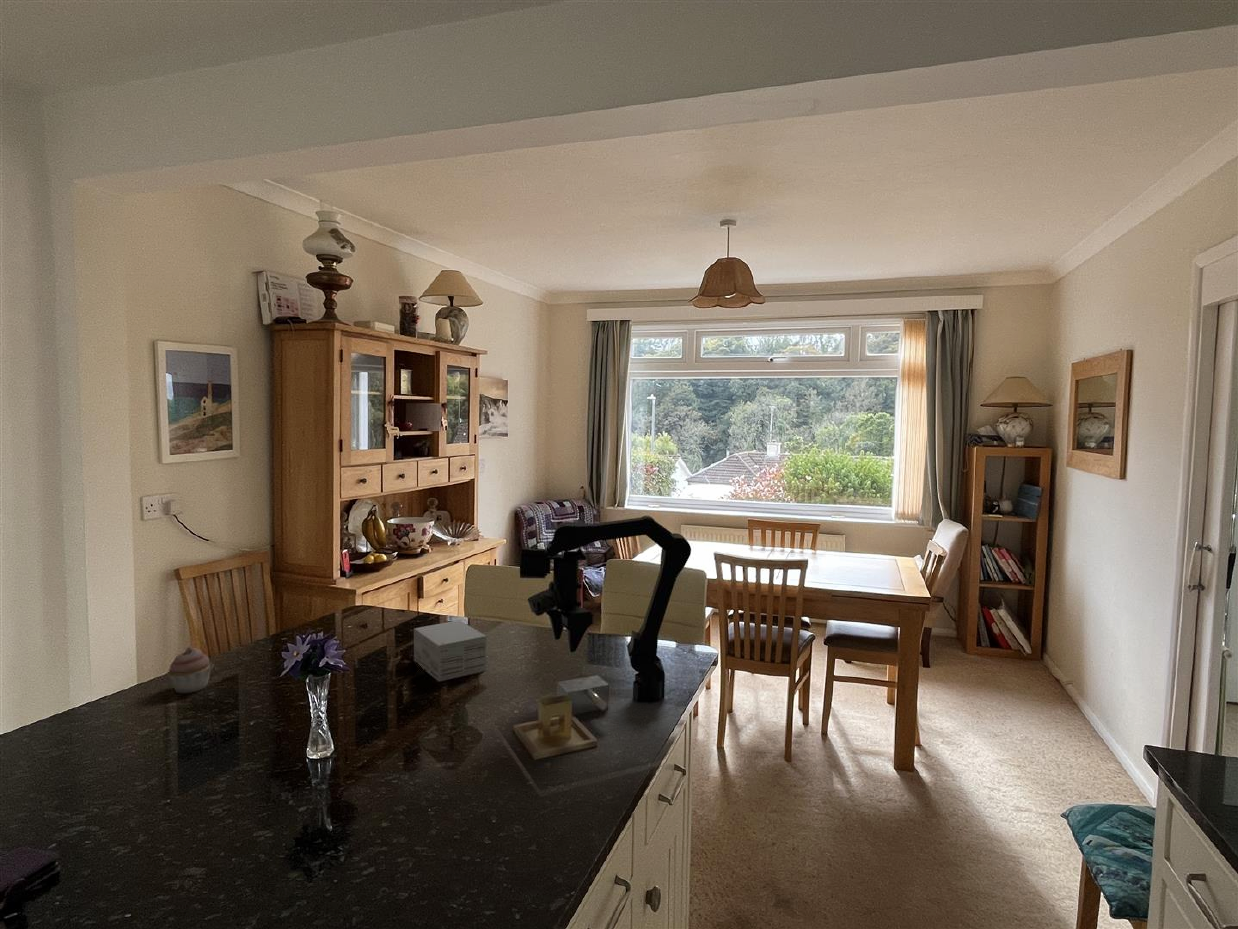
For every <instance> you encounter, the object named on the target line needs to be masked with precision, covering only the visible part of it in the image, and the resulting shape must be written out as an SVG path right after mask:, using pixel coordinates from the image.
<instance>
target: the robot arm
mask: <svg viewBox="0 0 1238 929" xmlns="http://www.w3.org/2000/svg"><path fill="white" fill-rule="evenodd" d="M639 536H640V537H641V536H646V537H648V538H649V539H650V540H652V541H653V542H654V543H655V544H656V545H657V546H658V547H660V548H661V554H660V563H659V564H660V565H659V566H660V567H659V572H658V576H657V578H656V580H655V581H656V582H655V584H654V587H653V591H652V594H651V597H650V601H649V604H648V607H647V610H646V612H645V615H644V620H643V623H642V625H641V627H640V628H639V629H638V631H637V632H636V631H635V630H631V632H630V633H631V635H630V639H629V642H628V643H627V644H626V648H627V652H628V653H627V654H628V658H629V662H630V666H631V667H632V669H633V670H634V671H636V672H637V673H635V674H634V680H633V682H632V699H633V700H635V701H636V702H637V703H648V704H653V703H658V702H660V701H661V700H662V699H665V693H666V692H665V687H666V686H665V684H666V683H665V681H666V673H665V670H664V667H663V663H662V660H661V658H660V657H659V656H658V655H657V654H658V643H659V633H660V629H661V627H662V625H663V621H664V617H665V615H666V613H667V608H668V606H669V602H670V599H671V596H672V593H673V590H674V587H675V584H676V580H677V578H678V576H679V575H680V573H681V572H682V571H683V569H684V568H685V566H686V565H687V562H688V561H689V559H690V557H691V554H692V546H691V544H690V542H689V541H688V540H687V539H686V538H685V537H684V535H682V534H680V533H676V532H675V533H674V532H671V531H669V529H667V527H666V528H665V527H664V526H663V525H661V524H660V523H659V522H657V521H656V520H655V519H654V518H653V517H652V516H650V515H643V516H641V517H634V518H624V519H620V520H619V519H618V520H613V521H604V522H603V521H602V522H597V523H596V522H595V523H590V522H589V523H588V522H587V523H586V522H580V521H579V522H578V521H564V522H561V523H559V524H558V525H557V526H556V528H555V529H554V533H553V537H552V539H551V541H550V542H549V543H547V546H546V547H545V548H532V547H522V549H521V558H520V564H519V578H520V579H546V577H547V576H548V575H551V566H553V567H552V568H553V571H552V574H553V576H552V579H553V580H552V581H550V582H549V583H548V589H545V590H542V591H539V592H538V593H536V594H533V595H532V596H529V597H528V598H527V601H528V605H529V607H530V610H531V613H534V615H535V616H537V617H540V616H542V615H544V614H546V615H547V616H548V618H549V621H550V625H551V629H552V632H553V637H554V639H555V640H556V641H558V640H560V639H561V637H562V633H563V630H564V628H565V630H566V631H567V639H568V648H569V652H570V653H575V652H576V651H577V649H578V646H579V645H580V643H581V641H582V639H583V637H584V636H585V633H586V632H587V630H588V628H590V627H591V625H594V623H595V615H594V614H593V613H592V612H591V611H590V610H588V609H587V608H585V607H582V601H580V600H579V589H582V586H583V585H582V583H581V582H579V569H580V568H579V565H580V562H579V561H587V560H588V559H587V557H588V555H587V553H585V552H584V551H583V549H582V548H583V547H585V546H587V545H590V544H592V543H596V542H602V541H612V540H617V539H624V538H632V537H639ZM574 550H575V551H574ZM561 552H563V554H560V553H561ZM551 561H552V562H553V564H552V562H551ZM551 564H552V565H551ZM577 607H579V608H577Z"/></svg>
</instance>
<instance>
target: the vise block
mask: <svg viewBox="0 0 1238 929" xmlns="http://www.w3.org/2000/svg"><path fill="white" fill-rule="evenodd" d="M563 695H567V696H568V697H569V698H570V699H571V700H572V714H573V715H574V716H575V715H578V714H584V713H588V712H594V711H599V710H601V711H606V710H607V709H609V706H610V705H609V703H610V702H609V700H610V699H609V698H610V684H609V683H608V682H607V681H605V680H604V679H603V678H602V677H601V676H599V675H598V674H596V675H591V676H585V677H579V678H573V679H568V680H563V681H557V682H556V697H558V696H563Z"/></svg>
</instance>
